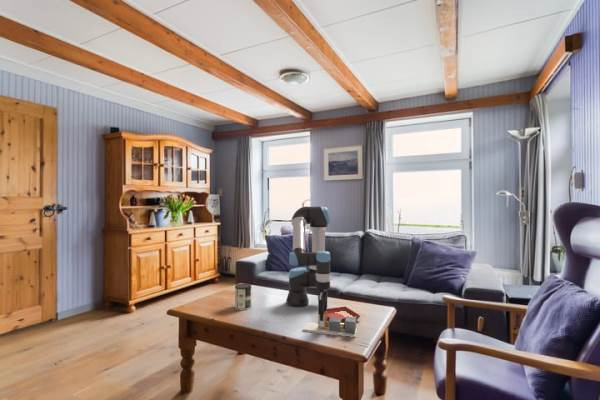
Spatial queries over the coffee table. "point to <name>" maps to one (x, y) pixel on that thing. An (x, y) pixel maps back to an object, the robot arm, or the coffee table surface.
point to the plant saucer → (335, 315)
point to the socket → (350, 325)
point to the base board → (325, 330)
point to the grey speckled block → (335, 324)
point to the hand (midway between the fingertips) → (322, 324)
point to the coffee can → (242, 296)
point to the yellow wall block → (342, 325)
